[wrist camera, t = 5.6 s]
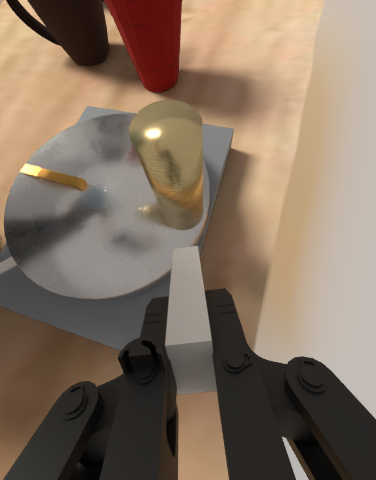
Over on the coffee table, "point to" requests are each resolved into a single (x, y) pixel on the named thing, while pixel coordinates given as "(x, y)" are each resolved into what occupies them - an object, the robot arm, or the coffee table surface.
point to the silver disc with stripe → (110, 202)
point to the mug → (70, 26)
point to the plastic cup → (151, 38)
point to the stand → (116, 310)
